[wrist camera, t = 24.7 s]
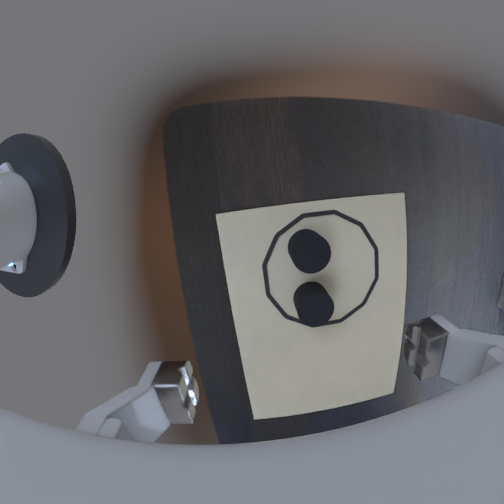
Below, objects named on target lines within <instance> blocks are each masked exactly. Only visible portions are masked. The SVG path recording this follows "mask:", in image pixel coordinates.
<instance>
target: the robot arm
mask: <svg viewBox="0 0 504 504" xmlns="http://www.w3.org/2000/svg"><path fill="white" fill-rule="evenodd" d="M36 230H37V211H36V204H35V200H34V196H33V193H32V190H31V188H30V186H29V184H28V183H27V181H26V180H25V179H24V178H23V177H22V176H20V175H19V174H17V173H16V172H15V171H14V170H13V168H12V166H11V164H10V163H9V162H6V163H3V164H2V165H1V166H0V270H1V271H7V272H12V273H18V274H21V273H24V272H25V270H26V265H27V257H28V255H29V253H30V251H31V249H32V247H33V244H34V241H35V236H36ZM404 335H405V336H406V338H407V339H406V340H405V342H404V343H403V349H402V352H403V358H404V360H405V362H406V363H407V365H408V366H411V367H414V371H413V372H414V373H415V374H416V376H417V377H418V378H419V379H420V381H424V380H427V379H429V378H432V377H435V376H437V375H439V376H440V377H443V378H445V379H447V380H449V381H451V382H454V383H456V384H458V385H460V386H458V387H456V388H454V389H451V390H449V391H447V392H445V393H443V394H441V395H438V396H436V397H434V398H431V399H429V400H427V401H424V402H422V403H419V404H417V405H414V406H411V407H409V408H406V409H403V410H400V411H398V412H395V413H392V414H389V415H386V416H383V417H379V418H376V419H373V420H370V421H366V422H363V423H359V424H355V425H352V426H348V427H344V428H340V429H335V430H331V431H326V432H322V433H317V434H311V435H306V436H300V437H294V438H287V439H280V440H272V441H264V442H253V443H240V444H220V445H179V444H161V443H153V442H154V441H155V440H156V439H157V438H158V437H159V436H160V435H161V434H162V433H163V432H164V431H165V430H166V429H167V428H168V427H169V426H170V425H171V424H193V422H194V418H195V413H196V410H195V407H194V406H195V405H196V404H197V403H198V399H199V389H198V384H197V381H196V379H195V378H194V377H192V372H193V368H192V366H191V363H190V362H189V361H164V362H163V361H158V362H150V363H149V364H148V366H147V368H146V370H145V371H144V373H143V375H142V377H141V379H140V381H139V382H138V384H137V386H132V387H131V388H129V389H127V390H125V391H124V392H122V393H120V394H119V395H117V396H115V397H113V398H112V399H110V400H108V401H107V402H105V403H103V404H102V405H100V406H98V407H96V408H94V409H93V410H91V411H89V412H87V413H86V414H85V416H84V417H83V419H82V420H81V422H80V423H79V425H78V426H77V428H76V430H75V431H73V430H69V429H65V428H61V427H57V426H54V425H50V424H46V423H43V422H40V421H37V420H33V419H30V418H27V417H24V416H22V415H19V414H17V413H14V412H11V411H9V410H5V409H1V410H0V504H504V336H500V335H495V334H489V333H484V332H478V331H473V330H468V329H461V330H460V329H459V328H457V327H456V326H455V325H453V324H452V323H451V322H449V321H448V320H447V319H445V318H444V317H442V316H441V315H440V314H435V315H433V316H430V317H427V318H425V319H422V320H419V321H415V322H412V323H409V324H406V327H405V331H404Z"/></svg>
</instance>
